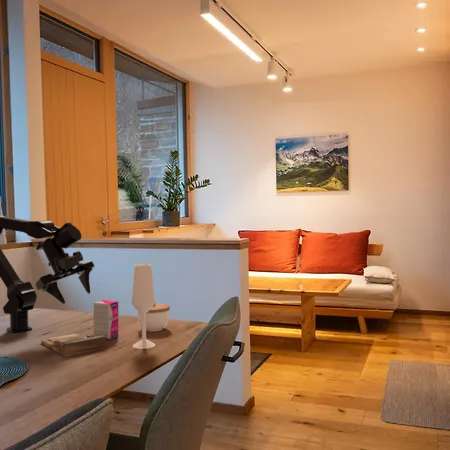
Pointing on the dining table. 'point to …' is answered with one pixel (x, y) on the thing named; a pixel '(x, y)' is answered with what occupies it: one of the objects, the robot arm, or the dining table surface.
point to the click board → (75, 344)
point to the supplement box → (106, 319)
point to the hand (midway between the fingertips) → (77, 298)
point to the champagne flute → (143, 299)
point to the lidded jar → (156, 317)
